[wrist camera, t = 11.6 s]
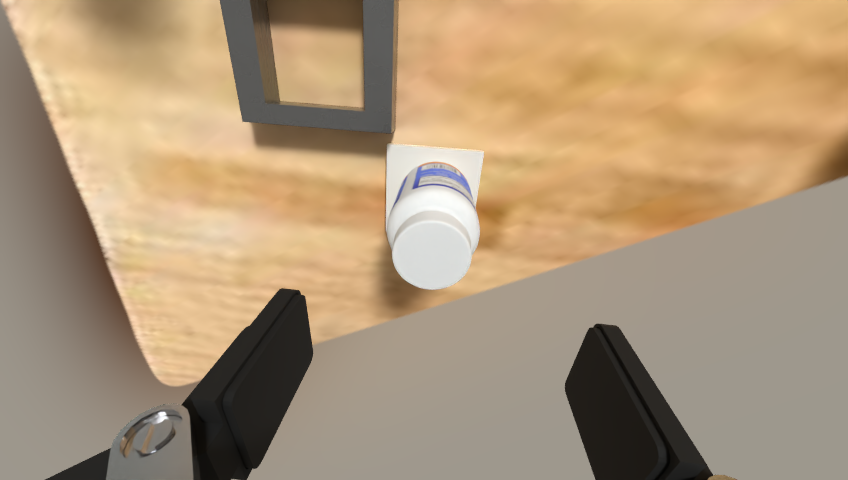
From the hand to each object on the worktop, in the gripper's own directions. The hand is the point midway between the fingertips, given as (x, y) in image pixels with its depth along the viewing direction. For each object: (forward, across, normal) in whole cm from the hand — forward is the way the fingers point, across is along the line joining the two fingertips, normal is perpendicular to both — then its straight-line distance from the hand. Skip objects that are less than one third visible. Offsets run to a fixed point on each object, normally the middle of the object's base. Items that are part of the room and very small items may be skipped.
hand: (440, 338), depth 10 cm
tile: (+16, +1, 0) cm, 16 cm away
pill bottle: (+15, +1, 0) cm, 15 cm away
